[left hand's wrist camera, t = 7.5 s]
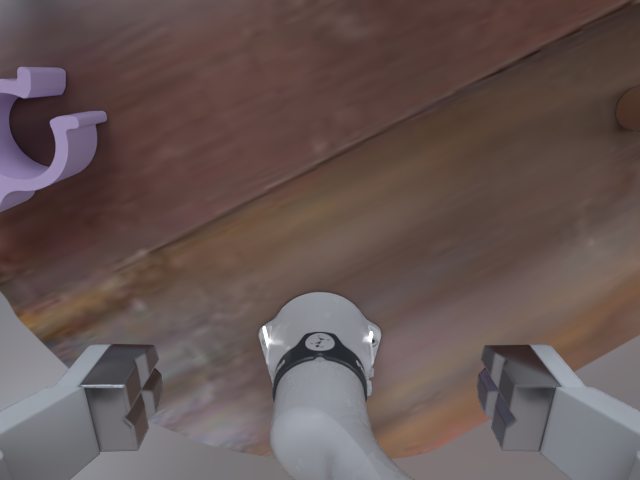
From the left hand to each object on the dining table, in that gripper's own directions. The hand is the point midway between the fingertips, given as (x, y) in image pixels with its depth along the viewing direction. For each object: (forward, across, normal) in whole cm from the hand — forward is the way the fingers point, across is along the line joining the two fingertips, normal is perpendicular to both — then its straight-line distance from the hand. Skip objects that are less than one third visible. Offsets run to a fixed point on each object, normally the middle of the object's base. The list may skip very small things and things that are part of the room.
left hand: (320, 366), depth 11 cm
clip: (+48, -37, -2) cm, 61 cm away
